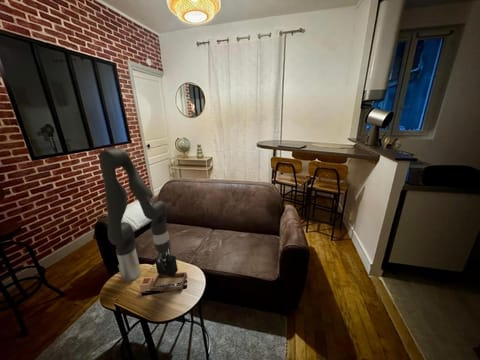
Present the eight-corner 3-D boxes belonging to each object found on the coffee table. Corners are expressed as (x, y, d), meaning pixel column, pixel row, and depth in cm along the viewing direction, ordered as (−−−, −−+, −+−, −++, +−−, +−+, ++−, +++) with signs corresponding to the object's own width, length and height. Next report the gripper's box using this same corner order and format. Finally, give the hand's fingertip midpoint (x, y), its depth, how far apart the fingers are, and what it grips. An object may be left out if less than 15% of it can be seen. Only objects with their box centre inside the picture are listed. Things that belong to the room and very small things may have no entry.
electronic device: (173, 277, 101) (170, 261, 98) (157, 273, 104) (154, 258, 101) (178, 271, 105) (175, 255, 102) (162, 268, 108) (159, 253, 105)
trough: (151, 292, 102) (150, 288, 101) (159, 276, 112) (158, 273, 111) (181, 291, 101) (181, 287, 101) (187, 276, 111) (186, 272, 111)
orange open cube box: (141, 292, 102) (139, 284, 100) (145, 284, 107) (143, 277, 105) (150, 292, 102) (148, 284, 100) (154, 284, 107) (152, 277, 105)
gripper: (159, 232, 105) (164, 258, 110) (147, 248, 92) (154, 277, 97) (173, 231, 105) (177, 257, 110) (163, 247, 92) (169, 277, 97)
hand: (166, 267), depth 103 cm, fingers closed on electronic device, 3 cm apart
